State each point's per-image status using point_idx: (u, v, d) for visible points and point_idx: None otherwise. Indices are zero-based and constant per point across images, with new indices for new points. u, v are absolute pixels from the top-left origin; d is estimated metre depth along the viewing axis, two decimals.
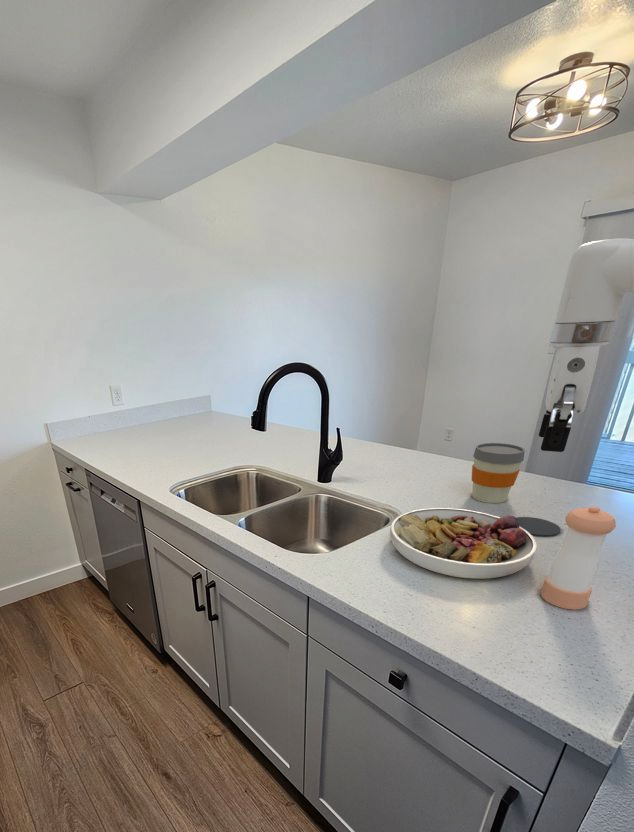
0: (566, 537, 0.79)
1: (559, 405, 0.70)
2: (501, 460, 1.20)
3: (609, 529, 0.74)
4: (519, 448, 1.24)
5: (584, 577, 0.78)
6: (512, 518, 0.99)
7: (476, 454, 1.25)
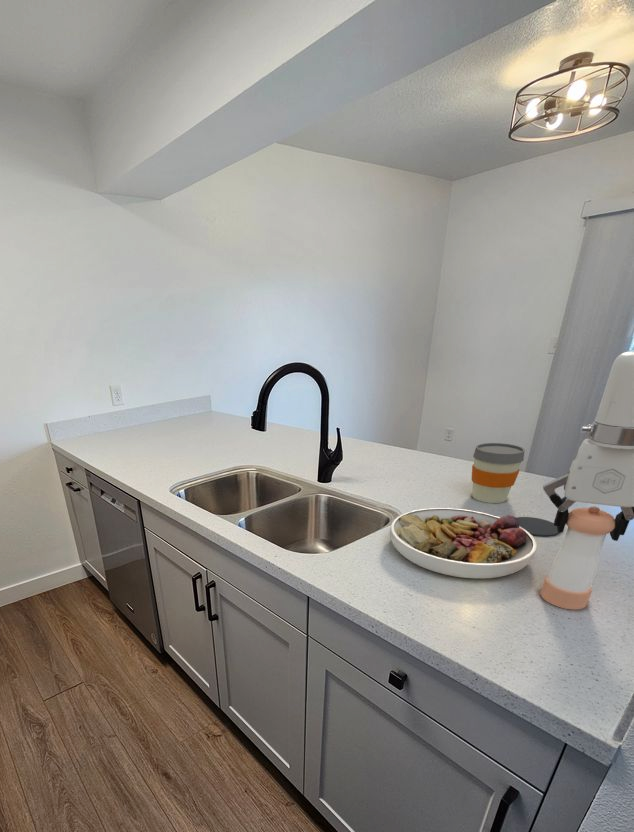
0: (566, 537, 0.79)
1: None
2: (501, 460, 1.20)
3: (609, 529, 0.74)
4: (519, 448, 1.24)
5: (584, 577, 0.78)
6: (512, 518, 0.99)
7: (476, 454, 1.25)
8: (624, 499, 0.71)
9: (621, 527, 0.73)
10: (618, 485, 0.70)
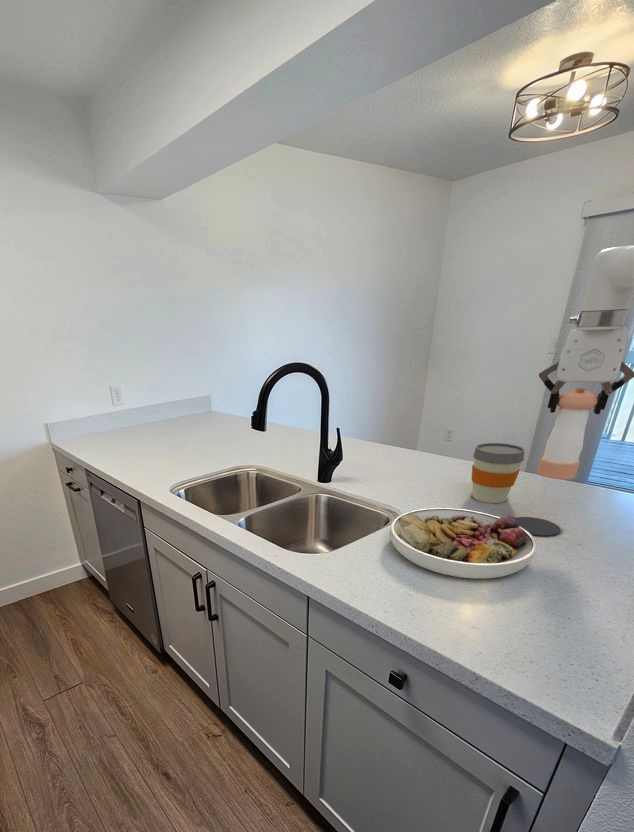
0: (557, 417, 0.95)
1: None
2: (501, 460, 1.20)
3: (592, 403, 0.90)
4: (519, 448, 1.24)
5: (573, 449, 0.94)
6: (512, 518, 0.99)
7: (476, 454, 1.25)
8: (604, 374, 0.87)
9: (602, 401, 0.90)
10: (599, 363, 0.87)
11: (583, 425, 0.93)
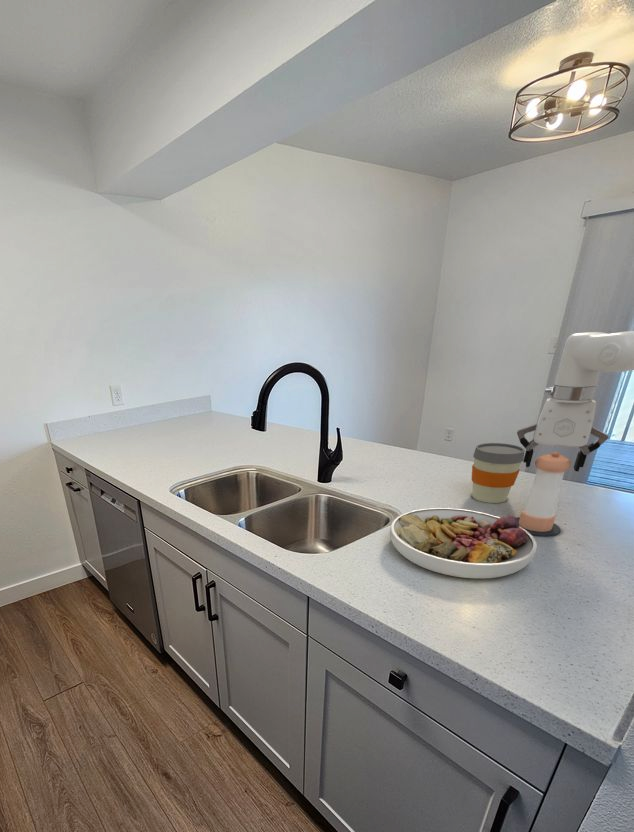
0: (536, 476, 1.06)
1: None
2: (501, 460, 1.20)
3: (565, 467, 1.01)
4: (519, 448, 1.24)
5: (549, 505, 1.05)
6: (512, 518, 0.99)
7: (476, 454, 1.25)
8: (575, 441, 0.98)
9: (580, 460, 1.00)
10: (571, 430, 0.97)
11: (558, 485, 1.04)
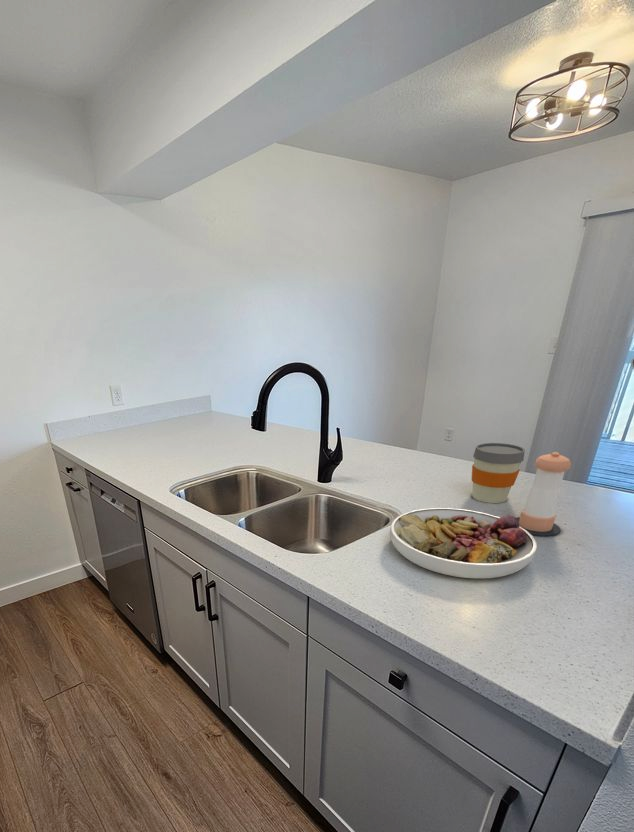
0: (536, 476, 1.06)
1: None
2: (501, 460, 1.20)
3: (565, 467, 1.01)
4: (519, 448, 1.24)
5: (549, 505, 1.05)
6: (512, 518, 0.99)
7: (476, 454, 1.25)
8: None
9: None
10: None
11: (558, 485, 1.04)
